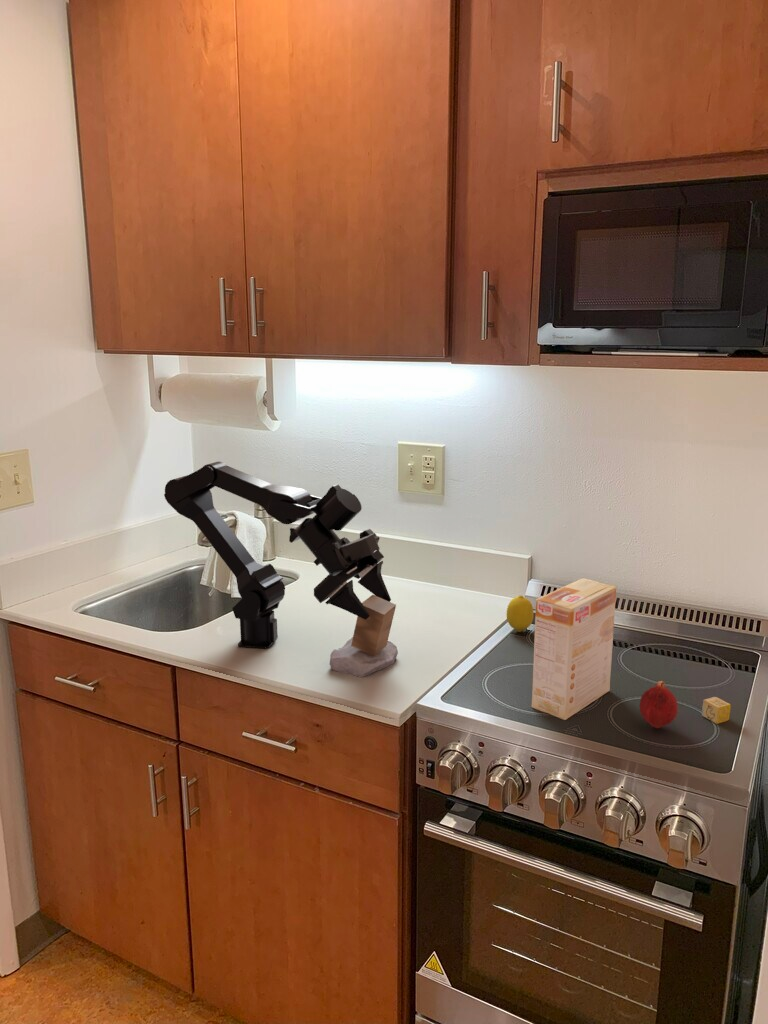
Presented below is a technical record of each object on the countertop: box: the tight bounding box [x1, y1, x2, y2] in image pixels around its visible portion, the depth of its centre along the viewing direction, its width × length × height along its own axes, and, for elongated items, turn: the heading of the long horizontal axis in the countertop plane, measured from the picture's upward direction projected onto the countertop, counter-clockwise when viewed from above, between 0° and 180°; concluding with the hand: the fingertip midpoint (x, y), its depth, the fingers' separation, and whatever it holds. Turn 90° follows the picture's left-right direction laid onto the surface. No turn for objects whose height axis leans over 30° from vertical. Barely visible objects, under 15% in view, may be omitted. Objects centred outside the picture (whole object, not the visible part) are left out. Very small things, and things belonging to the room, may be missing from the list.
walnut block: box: [351, 594, 397, 656], centre depth 151 cm, size 5×5×9 cm
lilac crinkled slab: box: [329, 636, 399, 678], centre depth 154 cm, size 12×5×10 cm
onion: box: [639, 680, 679, 729], centre depth 129 cm, size 6×6×8 cm
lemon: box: [506, 594, 535, 633], centre depth 168 cm, size 6×6×8 cm
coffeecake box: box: [531, 577, 618, 721], centre depth 138 cm, size 15×7×20 cm, turn 136°
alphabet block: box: [701, 696, 731, 725], centre depth 133 cm, size 3×3×3 cm
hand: (378, 609), depth 150 cm, fingers open, 9 cm apart
